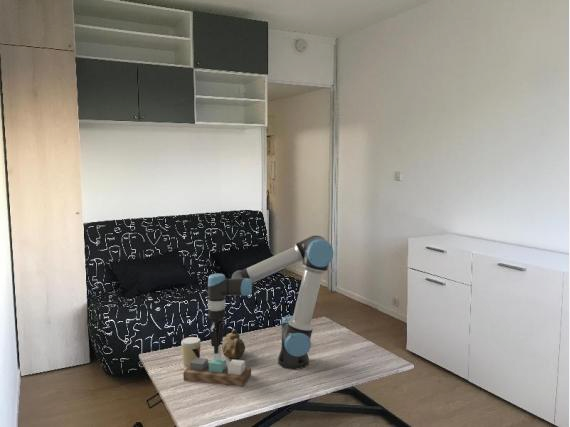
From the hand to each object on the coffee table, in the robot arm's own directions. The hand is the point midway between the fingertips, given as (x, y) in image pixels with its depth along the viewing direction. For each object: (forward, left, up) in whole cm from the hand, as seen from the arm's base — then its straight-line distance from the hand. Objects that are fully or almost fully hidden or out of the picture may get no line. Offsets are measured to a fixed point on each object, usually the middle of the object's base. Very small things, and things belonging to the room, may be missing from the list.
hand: (217, 359), depth 213 cm
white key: (-9, 0, -6) cm, 11 cm away
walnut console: (0, 0, -9) cm, 9 cm away
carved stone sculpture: (0, -22, -9) cm, 24 cm away
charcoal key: (+9, 0, -7) cm, 11 cm away
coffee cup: (+18, -11, -9) cm, 23 cm away
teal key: (0, 0, -6) cm, 6 cm away
